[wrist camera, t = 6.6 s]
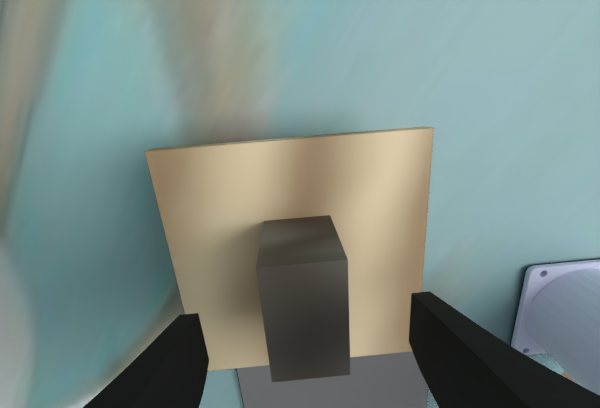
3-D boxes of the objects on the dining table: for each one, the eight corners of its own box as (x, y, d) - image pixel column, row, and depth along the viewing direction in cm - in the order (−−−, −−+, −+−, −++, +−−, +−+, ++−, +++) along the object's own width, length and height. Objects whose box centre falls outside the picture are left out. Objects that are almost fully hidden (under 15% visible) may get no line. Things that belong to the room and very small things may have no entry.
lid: (425, 126, 13) (500, 139, 8) (411, 339, 17) (457, 426, 12) (153, 148, 13) (80, 173, 8) (203, 359, 17) (172, 455, 12)
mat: (432, 301, 22) (435, 306, 21) (420, 438, 27) (422, 444, 26) (229, 321, 21) (228, 325, 21) (255, 456, 26) (255, 462, 26)
